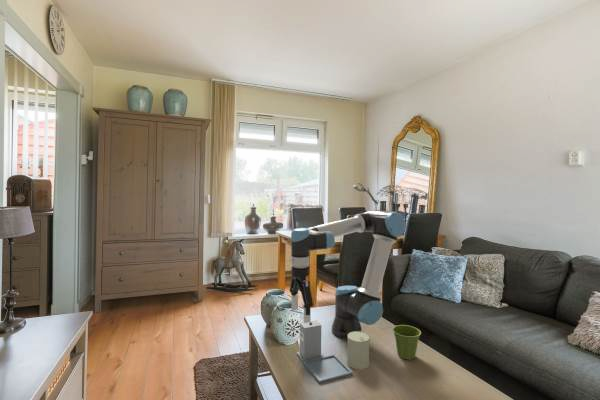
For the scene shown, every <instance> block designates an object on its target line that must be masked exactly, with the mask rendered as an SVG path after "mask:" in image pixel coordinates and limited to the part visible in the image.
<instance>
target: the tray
mask: <svg viewBox="0 0 600 400" xmlns="http://www.w3.org/2000/svg"><path fill="white" fill-rule="evenodd" d="M303 365H304V366H305V368H306V369H307V370H308V371H309V373H310V374H311V376H313V378H314V379H315V380H316V382H318V384H323V383H328V382H331V381H335V380H339V379H342V378H347V377H351V376H353V375H354V372H353V371H352V370H351V368H349V366H347V365H346V364H345V362H343V361H342V360H341V359H340V358H339V357H338V356H337V355H336V354H335V353H334V354H332V353H331V354H328V355H324V356H323V357H319V358H315V359H310V360H306V361H304V362H303Z"/></svg>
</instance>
